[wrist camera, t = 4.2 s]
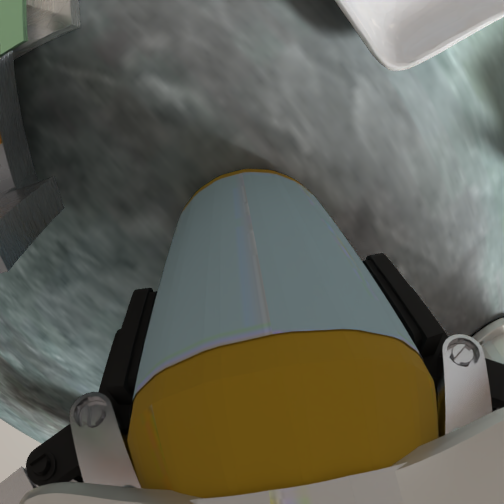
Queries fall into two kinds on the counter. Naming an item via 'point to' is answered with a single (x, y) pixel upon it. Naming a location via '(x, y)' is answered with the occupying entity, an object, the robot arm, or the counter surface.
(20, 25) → the gauge body
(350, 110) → the counter surface
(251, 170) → the bottle
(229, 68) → the counter surface
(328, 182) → the counter surface
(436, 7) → the salad plate
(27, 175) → the grey t-shaped piece
